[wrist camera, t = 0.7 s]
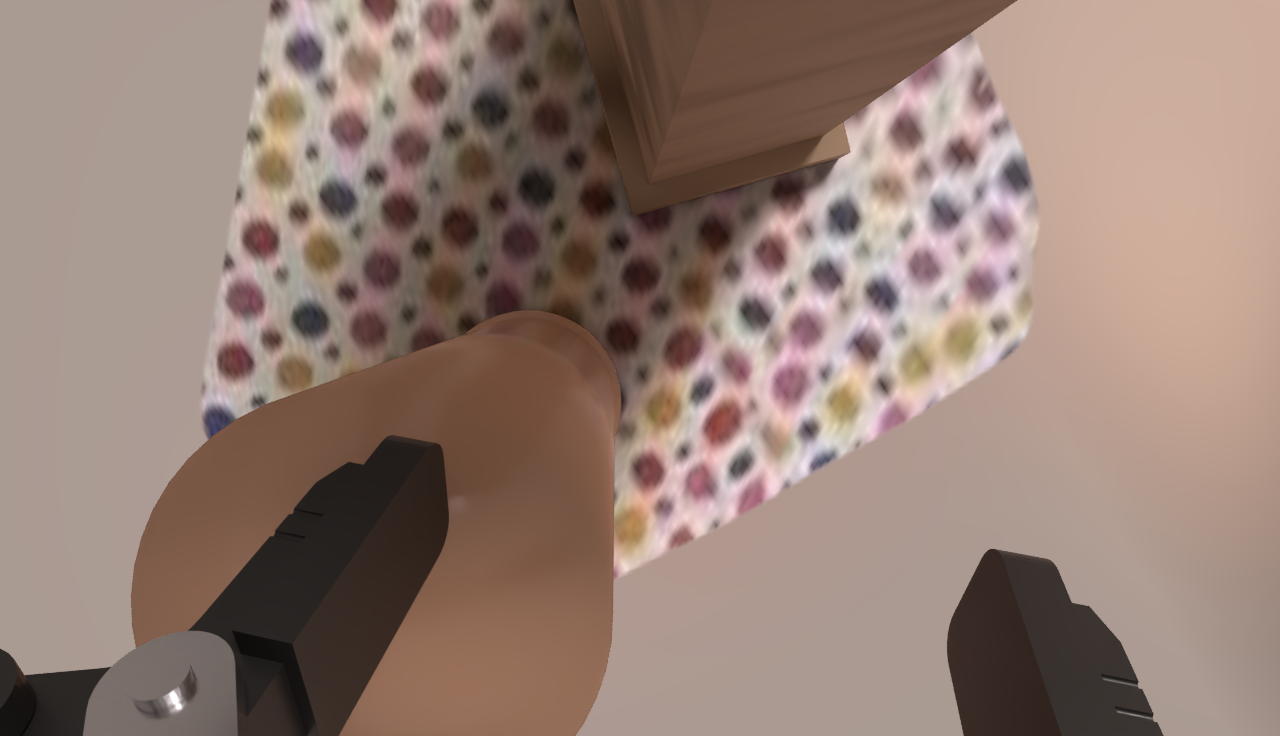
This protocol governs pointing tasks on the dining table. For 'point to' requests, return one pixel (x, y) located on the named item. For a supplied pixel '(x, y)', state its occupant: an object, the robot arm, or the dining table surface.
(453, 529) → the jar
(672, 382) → the dining table surface
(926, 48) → the stand
